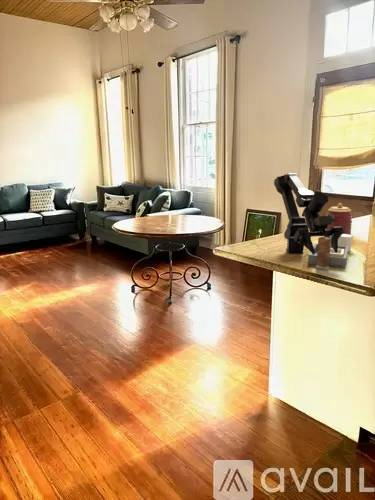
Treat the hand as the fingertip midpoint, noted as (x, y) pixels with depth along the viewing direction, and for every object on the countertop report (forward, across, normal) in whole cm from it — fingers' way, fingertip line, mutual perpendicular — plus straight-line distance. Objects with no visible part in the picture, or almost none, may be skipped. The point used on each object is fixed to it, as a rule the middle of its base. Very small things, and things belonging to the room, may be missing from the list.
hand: (325, 252), depth 141 cm
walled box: (-4, +8, +13) cm, 16 cm away
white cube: (-12, +23, +22) cm, 34 cm away
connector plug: (+4, 0, +6) cm, 7 cm away
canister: (-31, +35, +40) cm, 62 cm away
